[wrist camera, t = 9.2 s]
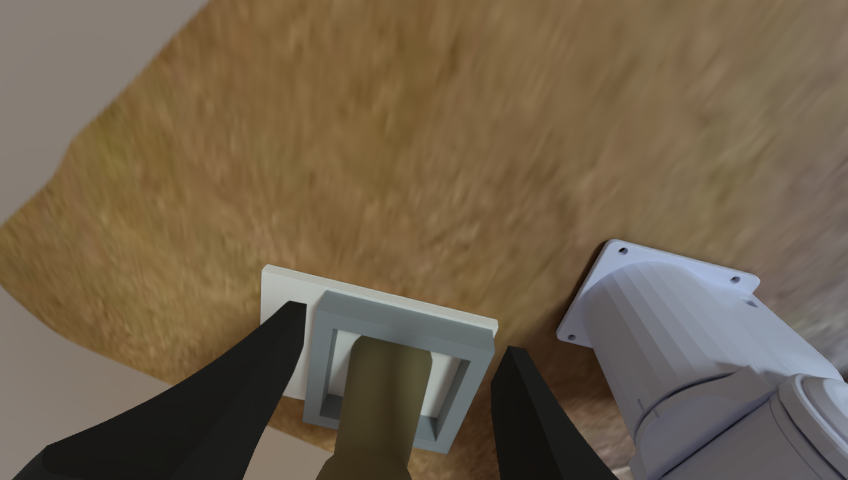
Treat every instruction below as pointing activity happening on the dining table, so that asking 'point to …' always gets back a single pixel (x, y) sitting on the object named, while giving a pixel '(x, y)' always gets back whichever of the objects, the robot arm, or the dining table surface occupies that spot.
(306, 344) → the socket board
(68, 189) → the dining table surface
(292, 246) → the dining table surface
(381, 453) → the olive knobbed tapered peg
